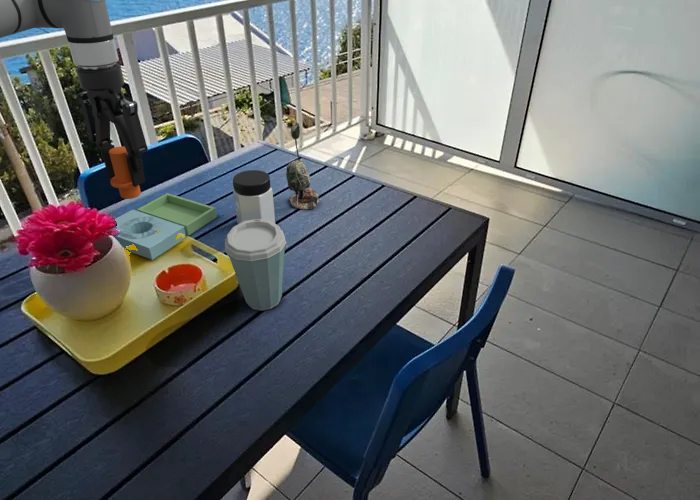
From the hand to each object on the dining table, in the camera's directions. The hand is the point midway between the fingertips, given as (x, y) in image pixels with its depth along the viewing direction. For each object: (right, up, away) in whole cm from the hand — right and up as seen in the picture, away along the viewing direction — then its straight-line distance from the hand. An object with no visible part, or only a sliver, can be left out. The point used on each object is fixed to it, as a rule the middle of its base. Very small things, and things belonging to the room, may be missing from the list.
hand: (127, 179), depth 103 cm
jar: (+24, -9, +14) cm, 29 cm away
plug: (0, -3, +2) cm, 3 cm away
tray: (+5, -7, +16) cm, 18 cm away
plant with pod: (+34, -3, +23) cm, 41 cm away
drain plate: (0, -12, +8) cm, 15 cm away
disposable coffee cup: (+30, -24, -9) cm, 39 cm away
